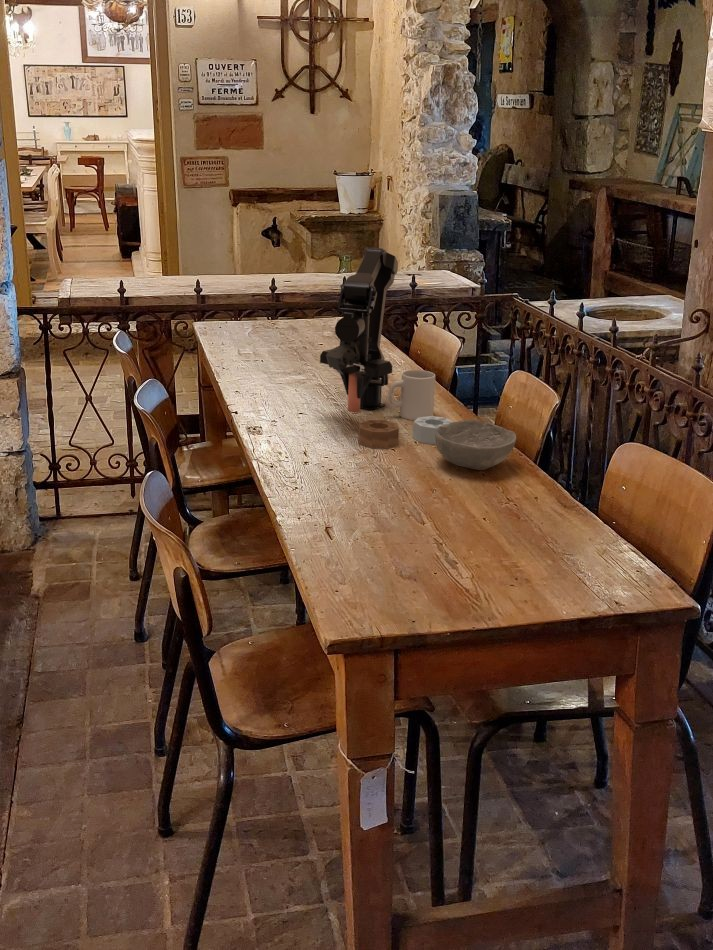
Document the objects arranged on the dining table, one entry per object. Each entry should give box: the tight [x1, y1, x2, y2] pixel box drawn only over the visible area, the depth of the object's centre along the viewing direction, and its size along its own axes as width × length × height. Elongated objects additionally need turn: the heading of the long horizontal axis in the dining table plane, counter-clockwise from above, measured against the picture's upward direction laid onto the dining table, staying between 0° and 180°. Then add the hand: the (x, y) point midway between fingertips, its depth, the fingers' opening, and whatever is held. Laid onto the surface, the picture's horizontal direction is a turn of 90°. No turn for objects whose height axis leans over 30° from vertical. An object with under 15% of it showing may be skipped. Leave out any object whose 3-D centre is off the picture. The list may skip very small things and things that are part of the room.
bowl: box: [435, 419, 517, 471], centre depth 226 cm, size 18×18×8 cm
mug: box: [388, 369, 436, 421], centre depth 259 cm, size 12×8×11 cm
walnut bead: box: [358, 419, 400, 449], centre depth 240 cm, size 9×9×4 cm
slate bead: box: [412, 415, 454, 446], centre depth 244 cm, size 9×9×4 cm
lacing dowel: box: [347, 373, 361, 413], centre depth 250 cm, size 3×3×9 cm
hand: (354, 396), depth 250 cm, fingers closed on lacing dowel, 3 cm apart
